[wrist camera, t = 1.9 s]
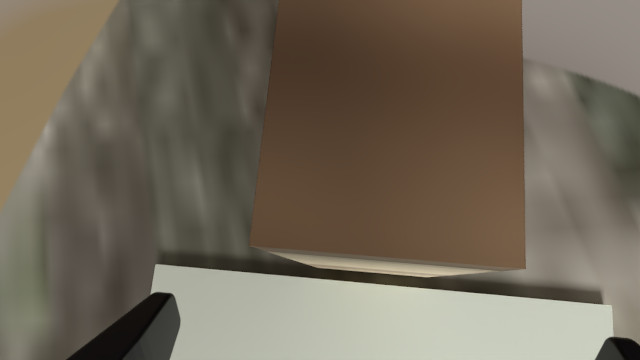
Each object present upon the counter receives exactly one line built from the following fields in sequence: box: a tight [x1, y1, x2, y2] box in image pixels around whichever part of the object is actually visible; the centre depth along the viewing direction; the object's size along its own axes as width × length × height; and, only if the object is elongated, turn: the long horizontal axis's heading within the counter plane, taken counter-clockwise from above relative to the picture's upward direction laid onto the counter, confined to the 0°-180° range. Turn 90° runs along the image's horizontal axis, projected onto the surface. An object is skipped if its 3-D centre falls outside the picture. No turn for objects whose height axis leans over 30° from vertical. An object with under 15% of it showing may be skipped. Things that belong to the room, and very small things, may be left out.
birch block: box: [249, 0, 526, 277], centre depth 15 cm, size 6×5×12 cm
